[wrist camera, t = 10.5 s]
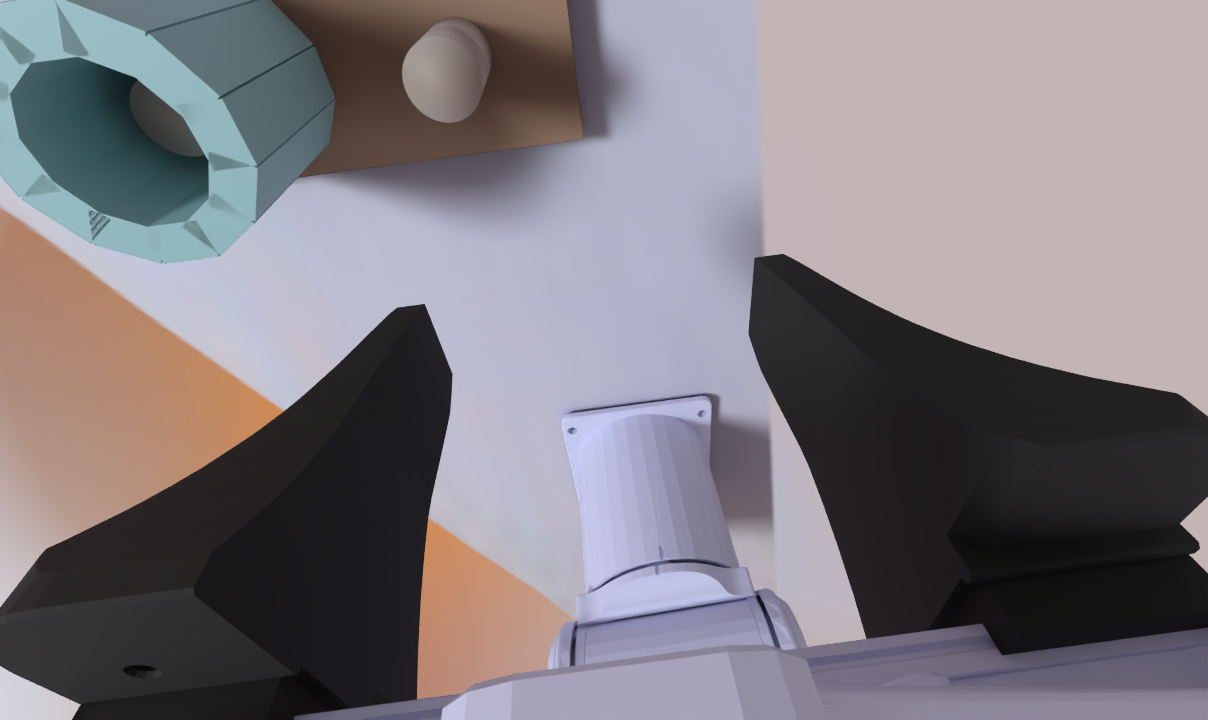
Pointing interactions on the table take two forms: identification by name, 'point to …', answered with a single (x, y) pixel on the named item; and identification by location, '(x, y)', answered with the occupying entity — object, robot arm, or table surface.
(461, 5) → the pin board
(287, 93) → the sleeve
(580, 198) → the table surface
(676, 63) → the table surface
